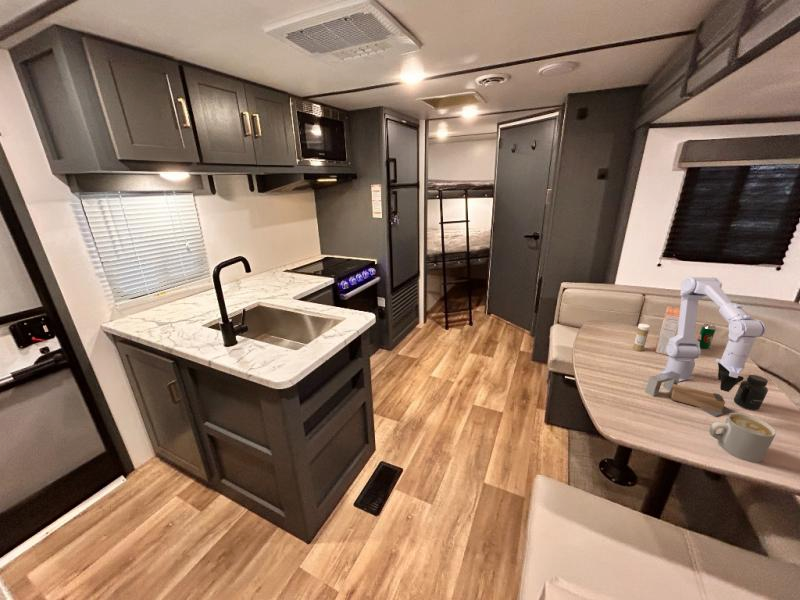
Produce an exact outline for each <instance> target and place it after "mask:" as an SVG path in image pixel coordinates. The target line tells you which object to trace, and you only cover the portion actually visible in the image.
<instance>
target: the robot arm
mask: <svg viewBox="0 0 800 600" xmlns="http://www.w3.org/2000/svg"><path fill="white" fill-rule="evenodd" d="M680 286H681V287H680V294H679V295H680V307H679V308H680V314H679V323H678V329H677V333H676V336H674V337H672V338H670V339H669V342H668V345H667V347H666V352H667V354H668V355H669V356H668V355H667V356H668V359H667V362H666V365H665V369H662V370H660V371H659V370H658V373H660V374H663V373H667V372H671V371H673V372H675V373H677V374H679V375H680V378H679V381H678V383H680V382H683V381H686V380H691V379H693V378H694V376H693V375H692V374H693V371H694V368H695V365H696V362H695V360H696V359H698V358H699V357H700V356H701V354H702V350H701V349H702V348H700V342H699V341H698V340H697V339H696V338H695V331H696V324H697V323H696V322H697V314H698V308H699V307H698V305H699V300H700V299H702V298H704V297H709V299H710V300H711V301H712V302H713V303H715V304H716V305H717V306H718V307H719V309H718V313H719V315H721V317H722V318H723V319H724V320H725V321H726V322H727V324H728V335H727V336H728V340H727V343H726V345H725V348H724V351H723V354H722V355H721V358H716V359H715V362H716V363H717V365H718V370H717V380H718V381H720V386H719V387H720V391H723V392H728V393H729V392H731V390H732V389H733V388H734V387H735V386H736V385H738V383H741V382H742V381H744V376H741V375H740V373H741V372H742V371H743V370H744V369H745V365H746V362H747V360H748V358H749V355H750V353H751V351H752V348H753V347H754V345H755V342H756V339H757V338H760V337H762V336H763V335H764V334H765V332H766V327H765V324H764V323H763V321H762V320H760V319H755V318H754V317H751V316H750V315H749V313H748V312H746V310H745V309H744V308H743V306H742V305H741V304H740V303H735V302H732V301H731V299H730V298H729V296H728V295H727V294H726V293H725V292H724V290H723V289H722V287H723V283H722V282H721V281H720V279H719V278H717V277H714V276H713V277H704V276H703V277H697V276H696V277H695V276H688V277H686V278H684V279H683V280H682V281H681V284H680Z"/></svg>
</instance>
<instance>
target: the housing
mask: <svg viewBox="0 0 800 600" xmlns="http://www.w3.org/2000/svg"><path fill="white" fill-rule="evenodd" d="M679 378H680V375H679V374H677V373H675V372H673V371H671V372H667V373H663V374H662V373H660V374H657V375H652V376H649V378H648V380H647V384H646V387H645V391H644V393H646V394H648V395H649V394H650V395H649V396H651V397H655V396H658V395H659V391H660V390H661V389H660V388H661V386H662V387H663V388H664V389H666V390H668V391H671V388H672V385H673V384H676V385H679V382H678V381H679ZM662 383H663V385H662Z"/></svg>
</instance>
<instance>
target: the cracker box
mask: <svg viewBox="0 0 800 600" xmlns="http://www.w3.org/2000/svg"><path fill="white" fill-rule="evenodd" d="M679 314H680V307H675V306H670V305H668V306H667V308H666V310H665V314H664V318H663V320H662V321H663V322H662V325H661V328H660V332H659V335H658V338H657V342H656V346H655V352H654V353H657V354H662V355H664V356H668V357H669V355H668V354H667V352H666V347H667V345H668V342H669V339H670V338H672V337H674V336H676V335H677V331H678V323H679Z"/></svg>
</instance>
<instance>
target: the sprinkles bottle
mask: <svg viewBox="0 0 800 600" xmlns="http://www.w3.org/2000/svg"><path fill="white" fill-rule="evenodd" d="M650 329H651V326H650V325H649V324H646V323H639V324H638V326H637V331H636V334H635V338H634V342H633V346H632V349H633V350H635V351H638V352H643V351H644V349H645V345H646V342H647V338H648V334H649V331H650Z"/></svg>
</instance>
